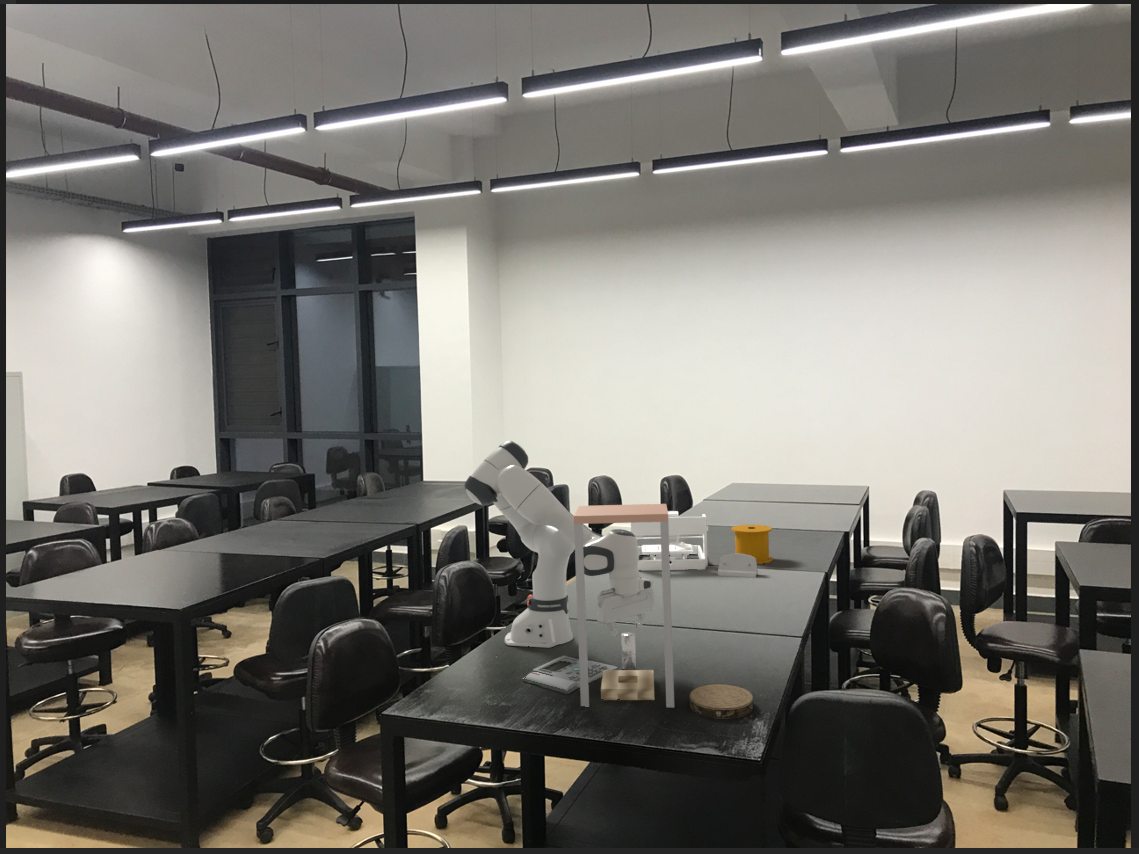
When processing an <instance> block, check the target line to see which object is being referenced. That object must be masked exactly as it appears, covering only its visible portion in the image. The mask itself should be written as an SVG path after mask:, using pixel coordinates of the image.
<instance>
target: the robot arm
mask: <svg viewBox="0 0 1139 854" xmlns="http://www.w3.org/2000/svg"><path fill="white" fill-rule="evenodd" d="M528 464H529V456H528V453H526V451H525V449H524V448H523V447H522V446H521V445H520V444H519V443H516V442H514V441H512V440H506V441H504V442H503V443H501V444H499V446H498V447H496V449H495V450H493V451H492V452H491V453H490V454H489V455H487V457H485V459H484V460H483V461H482V462H481V463H480V464H479V466H477V468H476V469H475V470H474V471H473V473H472V474H471V475H469V476H468V478H467V479H466V481H465V483H463V484H464V491H465V492H466V495H467V496H468V498H469V499H470V500H471V501H472V502H474V503H476V504H477V505H480V506H482V507H483V506H489V505H491V504H494V505H495V507H496V508H497V509H498V511H500V513H502V515H503V516H504V517H505V518H506V520H508V522H509V523H510V524H511V525H512V526H513V527H514V529H515V530H516V532H517V534H518V535H519V537H520V540H521V542H522V543H523V544H524V545H525V547H527V548H528V549H529V550H530V551H532V552H533V553H534V552H535V553H537V554H538V557H537V558H538V559H537V563H536V564H537V565H536V567H535V569H534V571H533V572H532V575H531V577H532V578H531V579H532V594H529V595H528V596H527V598H526V602H527V604H526V605H527V608H526V609H524V610H523V611H522V612H521V613H520V614H519V615H517V616H516V617H515V619H514V620H513V622H512V624H511V630H510V632H508V633H507V634H506V635H505V637H504V643H505V644H506V645H507V646H512V647H513V646H514V647H528V646H529V647H531V648H533V647H534V648H548V649H550V648H552V647H555V646H557V645H562V644H565V643H566V644H567V643H568V642H570V641H572V640H573V639H574V634H573V632H572V628H571V624H570V618H569V611H570V604H569V603H570V602H569V595H568V594H567V569H568V564H569V560H570V556H571V555H572V554H573V552H575V538H574V514H572V512H570V511H569V510H567V508H566V507H565V506H564V505H563V504H562V503H561V502H560V500H558V499H557V497H556V496H555V495H554V494H553V493H552V492H551V490H549V489H548V487H547V486H545V485H544V484H543V483H542V482H541V481H540V480H539V479H538V478H537V477H535V476H534V474H532V473H531V472H529V471H527V470H526V467H527V466H528ZM582 527H583V554H584V576H585V575H586V576H588V577H595V576H602V575H605V574H608V581H609V582H608V583H609V588H608V589H606V590H601V592H600V593H599V594H598V596H597V602H596V603H597V604H596V614H595V615H596V617H595V618H596V619H595V620H597V622H598V623H599V624H603V625H607V627H608V628H609V630H610V636H611V637H613V638H615V637H617V636H619V629H616V627H615V626H616V622H617V621H622V620H625V619H628V618H632V617H635V616H637V618H636V621H635V622H634V629H635V630H640V629H641V630H642V629H643V622H644V620H645V617H646V614H645V613H649V612H652V611H653V610H654V608H655V594H654V593H655V591H654V589H653V587H654V581H653V580H651V579H648V578H643V577H640V571H638V562H639V560H640V556H639V554H638V547H639V545H638V539H636V538H637V536H635V535H634V534H633V533H632V532H631V531H629V530H628V529H627V530H626V529H621V528H619V529H617V528H616V529H611V530H609V532H607V533H606V534H605V535H603V534H600V533H598V532H595V531H593V530H591V529H590V528H589V527H588V526H587V525H585V524H582Z"/></svg>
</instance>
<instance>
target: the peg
mask: <svg viewBox="0 0 1139 854" xmlns="http://www.w3.org/2000/svg"><path fill="white" fill-rule="evenodd" d="M620 637H621V642H620V643H621V663H622V665H621V666H622V668H623V669H624V670H637V660H636V659H637V657H636V655H637V654H636V653H637V652H636V633H634V632H629V631H628V632H622V633H621V635H620ZM622 668H621V669H622ZM623 669H622V670H623Z"/></svg>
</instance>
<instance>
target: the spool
mask: <svg viewBox="0 0 1139 854" xmlns="http://www.w3.org/2000/svg"><path fill="white" fill-rule="evenodd" d="M730 529H731V531H732V532H734V543H735V548H734V550H735V553H738V554H746V555H749V556H752V557H754V558H756V561H757V565H764V564H763V563H765V564H769V563H772V562H773V557H772V556H770V544H769V543H770V542H769V541H770V539H769V537H770V536H769V535H770V533H769V532H772V531H773V528H772V527H771V526H768V525H764V524H740V525H735V526H732V527H731V528H730ZM735 553H734V554H735ZM771 561H772V562H771Z"/></svg>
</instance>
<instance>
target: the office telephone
mask: <svg viewBox="0 0 1139 854" xmlns="http://www.w3.org/2000/svg"><path fill="white" fill-rule="evenodd" d="M559 660H565V661H570V662H574V663H569V664H568V665H567V666H564V667H562V668H560V669H557V670H556V671H554V670H553V671H552V670H549V669H546V668H545V669H542V668H544V667H546V666H549V665H551V664H553V663H555V662H557V661H559ZM549 667H550V666H549ZM603 670H619V667H618V666H615V665H611V664H607V663H603V662H598V661H594V660H588V683H589V682H591V681H594V680H596V681H598V680H600V679H602V678H601V677H603ZM533 671H538V672H533ZM539 672H542V673H546V674H549V675H546V674H542V673H539ZM550 675H552V676H550ZM525 677H526V678H525ZM524 678H525V679H527V680H531V681H535V682H538V683H542V684H546V685H549V686H553V687H557V688H560V689H564V690H566V691H568V690H569V689H571V688H573V687H574V686H577V687H580V668H579V658H574V657H570V656H567V655H562V656H559V657H557V658H554V659H552V660H551V661H548V662H546V663H544V664H542V665H539V666H537V667H535V668H533V669H532V671H530V673H528V674H527V675H526V676H524V677H522V679H524ZM599 678H600V679H599ZM597 679H598V680H597ZM594 682H595V681H594Z"/></svg>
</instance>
